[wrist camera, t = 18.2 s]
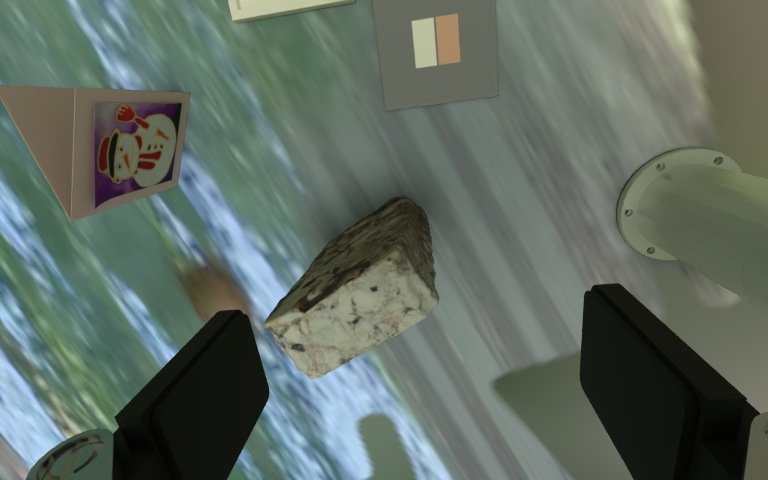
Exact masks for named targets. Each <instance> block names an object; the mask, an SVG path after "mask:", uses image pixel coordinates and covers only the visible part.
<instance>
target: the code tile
mask: <svg viewBox="0 0 768 480" xmlns="http://www.w3.org/2000/svg"><path fill="white" fill-rule="evenodd" d="M372 2H373V10H374V18H375V27H376V35H377V43H378V51H379V60H380V68H381V76H382V84H383V92H384V101H385V109H386V111H392V110H399V109H406V108H414V107H421V106H428V105H435V104H443V103H450V102H457V101H464V100H472V99H479V98H486V97H493V96H498V71H497V32H496V0H372Z"/></svg>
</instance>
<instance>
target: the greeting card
mask: <svg viewBox="0 0 768 480" xmlns="http://www.w3.org/2000/svg"><path fill="white" fill-rule="evenodd" d="M190 94H191V93H183V92H163V91H142V90H122V89H102V88H81V87H75V88H54V87H32V86H10V85H0V99H1V100H2V102H3V104H4V106H5V107H6V109H7V111H8V113H9V114H10V116H11V118H12V120H13V121H14V123H15V125H16V127H17V128H18V130H19V132H20V134H21V136H22V137H23V139H24V141H25V143H26V144H27V146H28V148H29V150H30V151H31V153H32V155H33V157H34V158H35V160H36V162H37V164H38V165H39V167H40V169H41V171H42V172H43V174H44V176H45V178H46V179H47V181H48V183H49V185H50V186H51V188H52V190H53V192H54V193H55V195H56V197H57V199H58V200H59V202H60V204H61V206H62V207H63V209H64V211H65V213H66V214H67V216H68V218H69V220H70V221H71V222H72V221H75V220H78V219H81V218H84V217H87V216H90V215H93V214H96V213H99V212H102V211H104V210H107V209H110V208H113V207H116V206H119V205H122V204H125V203H128V202H131V201H134V200H137V199H140V198H143V197H146V196H149V195H152V194H155V193H158V192H161V191H164V190H167V189H170V188H173V187H176V186H178V179H179V172H180V165H181V158H182V151H183V144H184V137H185V129H186V122H187V115H188V108H189V101H190Z"/></svg>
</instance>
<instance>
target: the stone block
mask: <svg viewBox="0 0 768 480" xmlns="http://www.w3.org/2000/svg"><path fill="white" fill-rule="evenodd" d="M431 239H432V237H431V235H430V227H429V223H428V219H427V216H426V214H425V212H424V211H423V210H422V209H421V208H420V207H418V206H417V205H415V204H414V203H412V202H411V201H409V200H408V199H404V198H399V197H396V198H393V199H391V200H390V201H388V202H387V203H385V204H384V205H383V206H382V207H380V208H379V209H378V210H376V211H375V212H373V213H372V214H370V215H369V216H367V217H366V218H364V219H363V220H361V221H359V222H358V223H356V224H355V225H354V226H352V227H351V228H349V229H347V230H346V231H345V232H343V233H342V234H341V235H340V236H339V237H338V238H336V239H334V240H332V241H331V242H329V243H328V244H327V245H326V246H325V248H324V249H323V251H322V252H321V253H320V254H319V255H318V256H317V257H316V258H315V260H314V261H313V262H312V263H311V265H310V267H309V269H308V270H307V271H306V272H305V273H304V275H303V276H302V277H301V278H300V279H299V281H298V282H297V283H296V284H295V285H294V286H293V287H292V288H291V290H290V291H289V292H288V294H287V295H286V296H285V297H284V298H282V299H281V300H280V301H279V303H278V304H277V306H276V307H275V308H274V310H273V311H272V312H271V313H270V315H269V317H268V318H267V319H266V321H265V323H264V328H265V329H267V330H269V331H270V332H271V334H272V335H273V337H274V340H275V343H276V344H278V345H279V346H280V347H281V349H282V350H283V352H284V353H285V354H286V355H287V356H289V357H290V358H291V359H292V360H293V361H294V363H295V365H296V367H297V369H298V370H300V371H302V372H303V373H305V374H306V375H307V376H308V377H309V378H310V379H315V378H318V377H322V376H324V375H325V374H326V373H328V372H330V371H332V370H334V369H336V368H338V367H339V366H341V365H343V364H345V363H347V362H349V361H350V360H351V359H352V358H354V357H357V356H359V355H361V354H362V353H364V352H365V351H367V350H369V349H371V348H373V347H374V346H376V345H377V344H380V343H383V342H385V341H387V340H389V339H391V338H393V337H394V336H396V335H398V334H399V333H401V332H403V331H404V330H406V329H408V328H410V327H412V326H414V325H415V324H417V323H418V322H420V321H421V320H423V319H425V318H426V317H427V316H428V315H429V313H430V312H431V311H432V309H433V308H434V307H435V306H436V305H437V304H438V302H439V296H438V293H437V291H436V289H435V285H434V283H435V276H436V272H435V270H434V267H433V264H434V258H433V256H432V253H433V249H432V240H431Z"/></svg>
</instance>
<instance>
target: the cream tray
mask: <svg viewBox="0 0 768 480" xmlns="http://www.w3.org/2000/svg"><path fill="white" fill-rule="evenodd" d="M228 2H229V6H230V11H231V15H232V19H233V21H235V22H237V23H245V22H251V21H256V20H262V19H267V18H273V17H279V16H284V15H290V14H295V13H301V12H307V11H312V10H318V9H323V8H329V7H334V6H340V5H346V4H351V3H356V0H228Z"/></svg>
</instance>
